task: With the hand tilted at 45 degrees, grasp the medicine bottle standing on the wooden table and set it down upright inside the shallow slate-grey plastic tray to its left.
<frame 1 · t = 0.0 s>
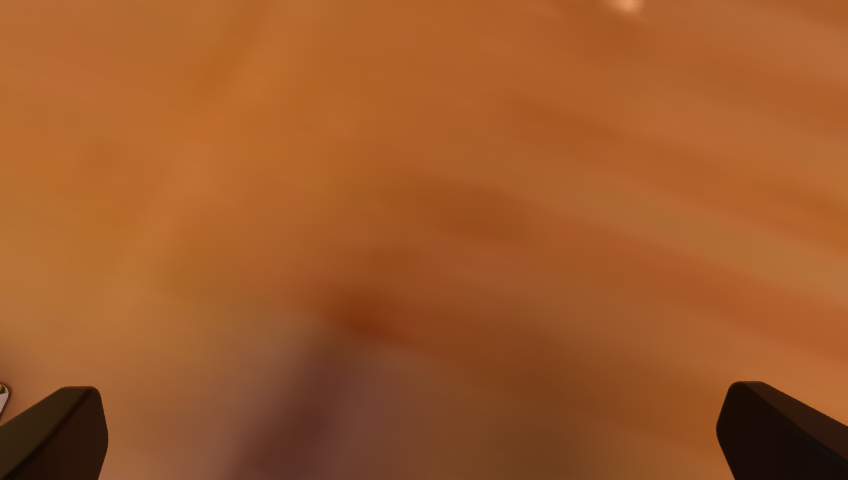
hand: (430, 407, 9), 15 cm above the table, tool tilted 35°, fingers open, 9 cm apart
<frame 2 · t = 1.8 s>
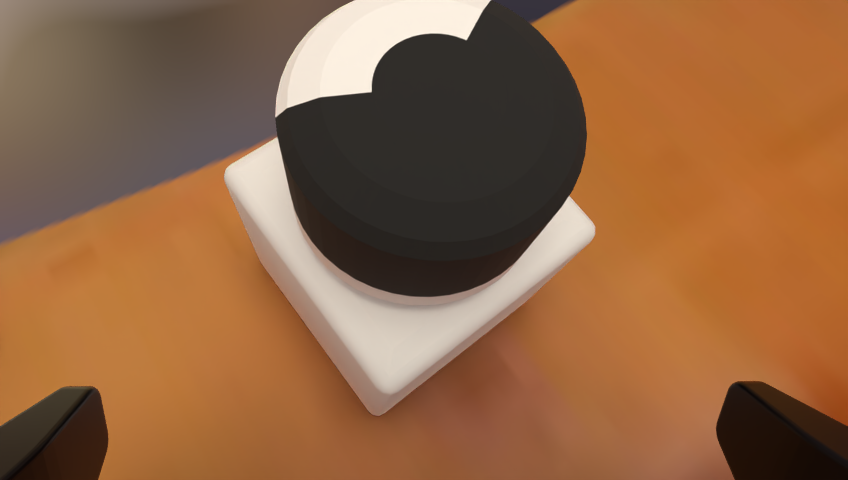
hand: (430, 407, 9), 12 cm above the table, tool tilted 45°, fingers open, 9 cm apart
medicine bottle: (394, 279, 23), on the table
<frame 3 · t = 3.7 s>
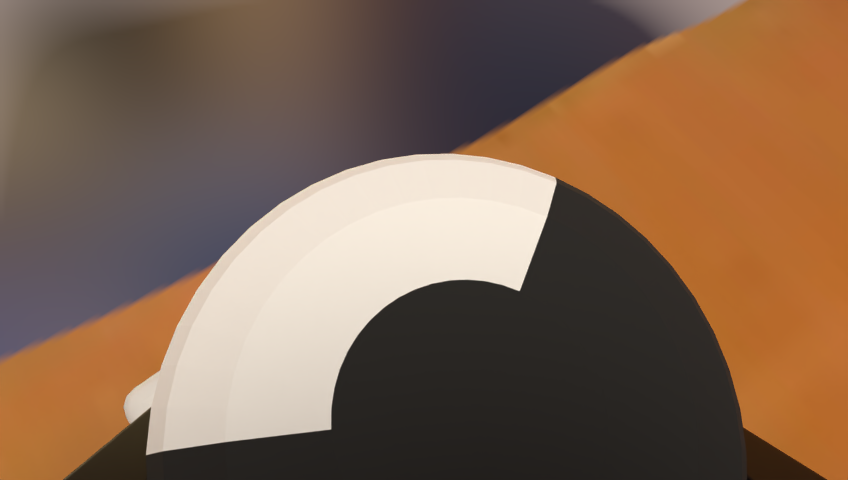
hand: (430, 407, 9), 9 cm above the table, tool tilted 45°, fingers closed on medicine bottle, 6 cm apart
medicine bottle: (396, 449, 17), on the table, touching gripper
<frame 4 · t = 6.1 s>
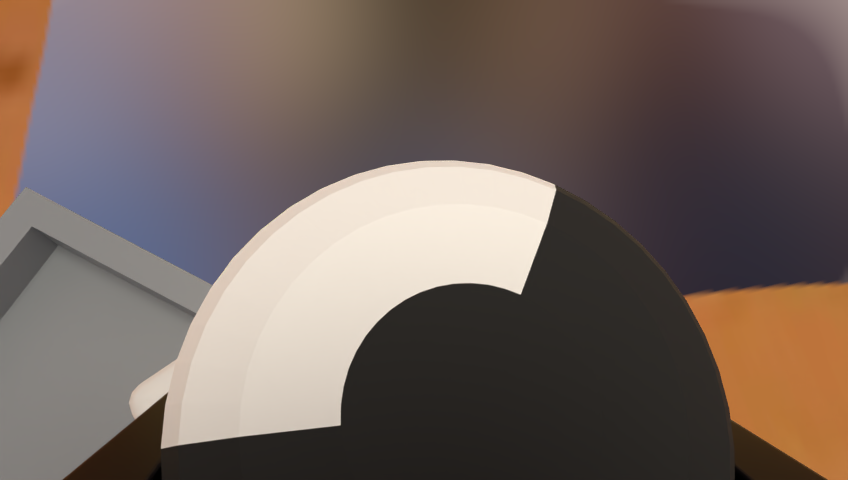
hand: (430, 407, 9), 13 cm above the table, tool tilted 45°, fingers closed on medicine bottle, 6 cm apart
medicine bottle: (392, 446, 17), point 4 cm above the table, touching gripper
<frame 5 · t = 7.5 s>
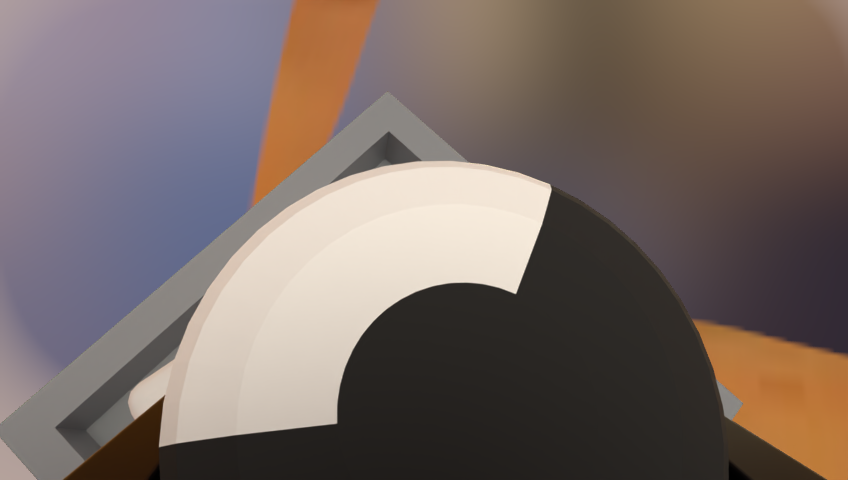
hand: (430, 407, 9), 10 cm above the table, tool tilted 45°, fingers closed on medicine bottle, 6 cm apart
medicine bottle: (390, 446, 17), point 1 cm above the table, touching gripper
slate tray: (389, 420, 19), on the table
when the fingers open (10 cm above the table, at t = 8.4 s): medicine bottle stays where it is, resting on slate tray.
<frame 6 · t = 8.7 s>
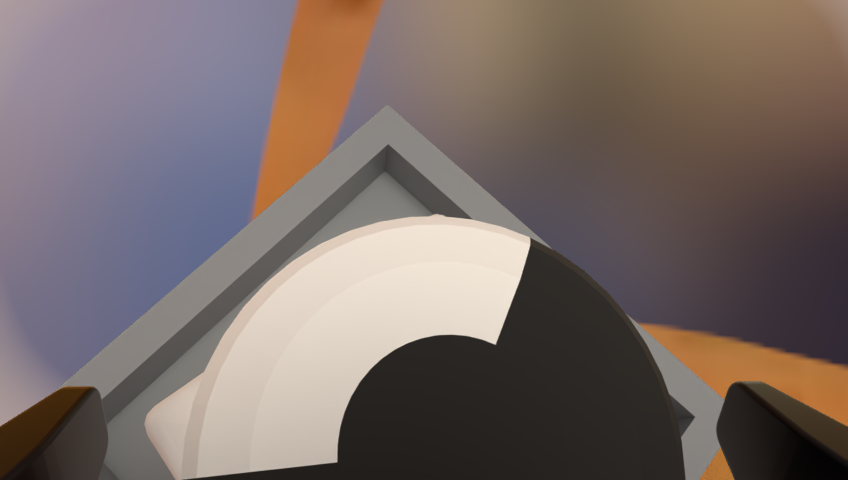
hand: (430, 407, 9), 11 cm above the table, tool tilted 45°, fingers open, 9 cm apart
medicine bottle: (388, 456, 18), resting on slate tray
slate tray: (389, 432, 19), on the table
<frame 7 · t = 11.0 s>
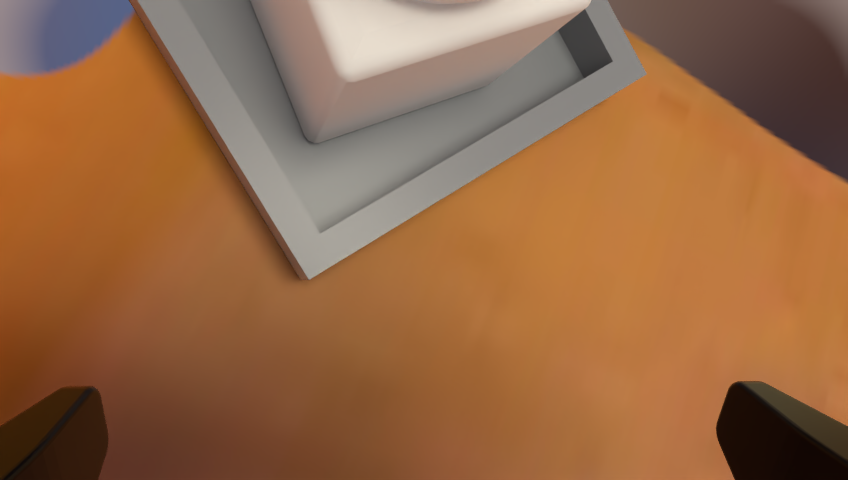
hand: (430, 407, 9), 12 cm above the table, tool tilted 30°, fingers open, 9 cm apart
medicine bottle: (364, 20, 21), resting on slate tray
slate tray: (368, 8, 22), on the table
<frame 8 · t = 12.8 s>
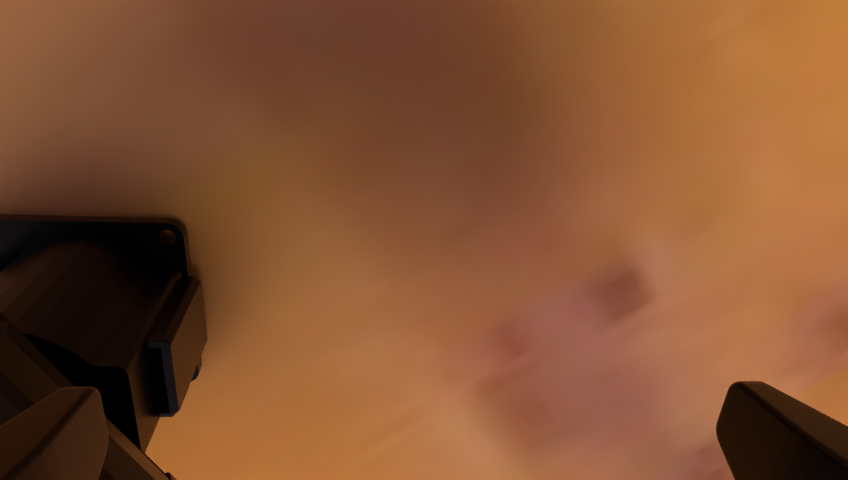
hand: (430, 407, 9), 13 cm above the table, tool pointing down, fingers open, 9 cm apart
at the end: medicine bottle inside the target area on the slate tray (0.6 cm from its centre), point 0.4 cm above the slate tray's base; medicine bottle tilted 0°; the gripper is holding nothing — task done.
